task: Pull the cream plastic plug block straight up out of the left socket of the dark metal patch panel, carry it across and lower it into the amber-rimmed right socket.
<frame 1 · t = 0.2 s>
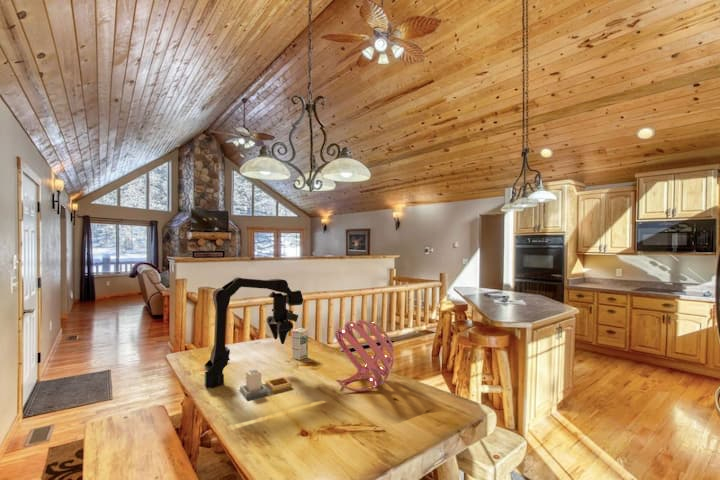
hand: (279, 341, 155), 14 cm above the table, fingers open, 9 cm apart
slotted curved sculpture: (364, 385, 142), on the table
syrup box: (299, 358, 178), on the table
panel: (266, 392, 135), on the table
plug: (253, 392, 132), point 1 cm above the table, touching panel
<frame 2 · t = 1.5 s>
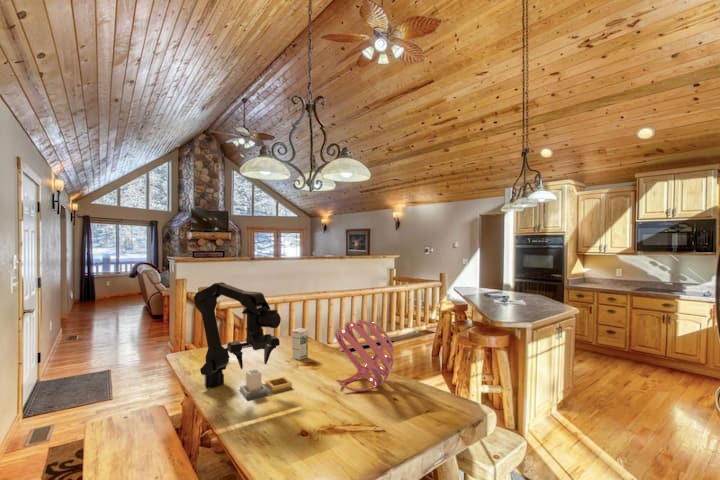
hand: (253, 366, 133), 11 cm above the table, fingers open, 9 cm apart
nothing on the table moved.
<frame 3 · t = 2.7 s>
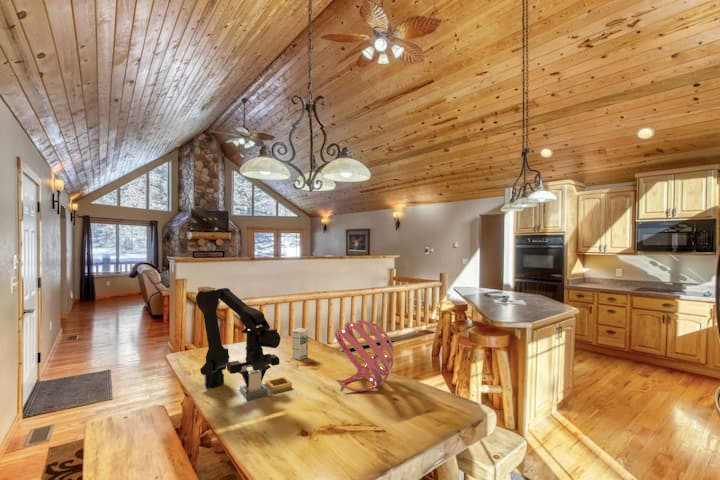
hand: (253, 385, 132), 4 cm above the table, fingers closed on plug, 4 cm apart
plug: (253, 392, 132), point 1 cm above the table, touching gripper, panel
everything else where it was.
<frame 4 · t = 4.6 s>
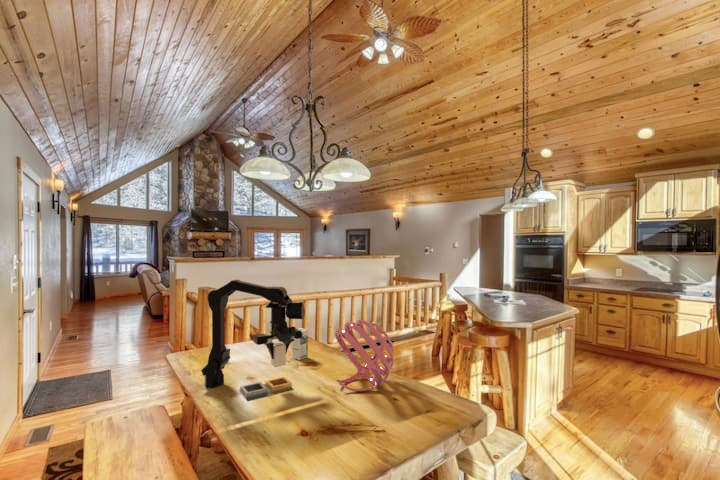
hand: (278, 357, 138), 13 cm above the table, fingers closed on plug, 4 cm apart
plug: (278, 364, 138), point 10 cm above the table, touching gripper
everything else where it was.
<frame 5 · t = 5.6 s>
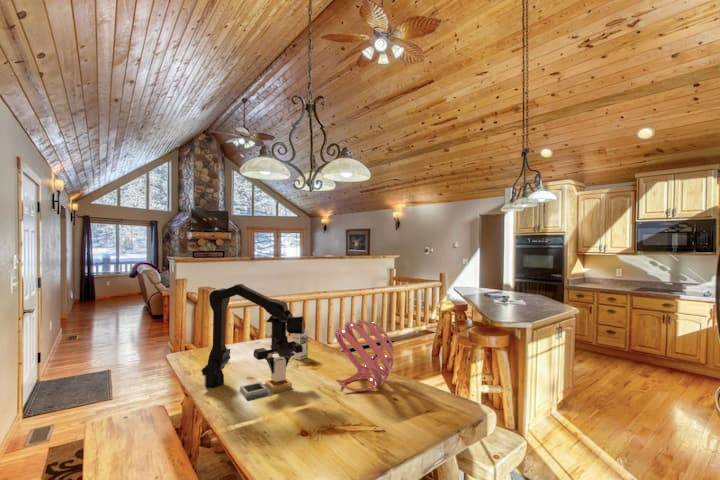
hand: (278, 372, 138), 7 cm above the table, fingers closed on plug, 4 cm apart
plug: (278, 378, 138), point 4 cm above the table, touching gripper
everything else where it was.
when the fingers open (4 cm above the table, at t = 6.4 s): plug stays where it is, resting on panel.
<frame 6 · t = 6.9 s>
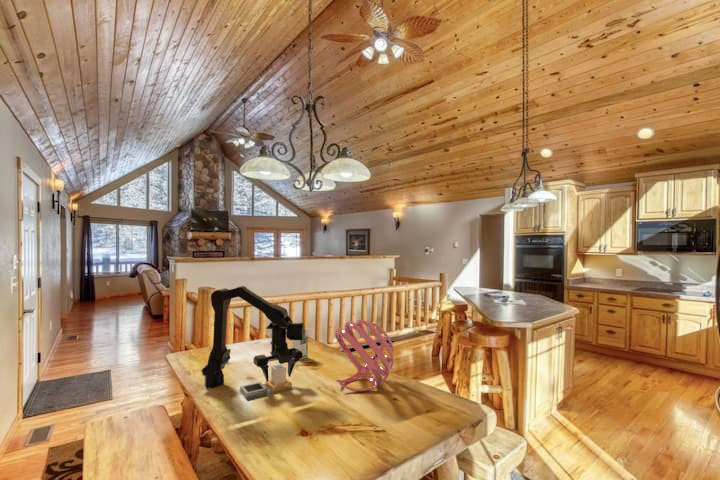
hand: (278, 378, 138), 4 cm above the table, fingers open, 9 cm apart
plug: (278, 386, 138), point 1 cm above the table, touching panel
everything else where it was.
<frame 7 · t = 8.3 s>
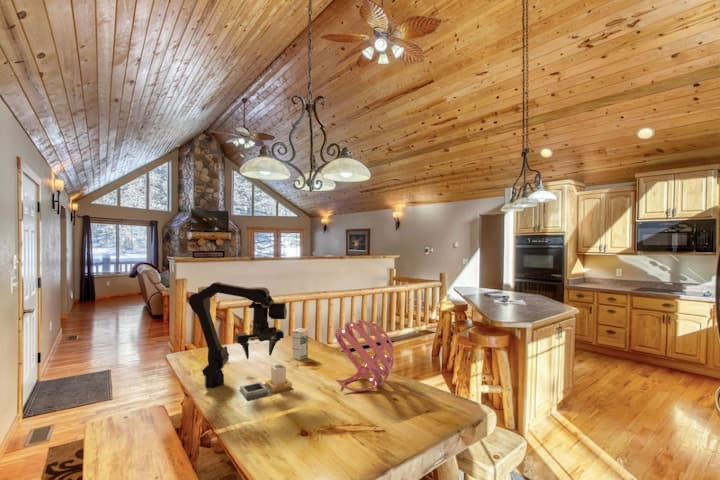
hand: (258, 357, 141), 12 cm above the table, fingers open, 9 cm apart
nothing on the table moved.
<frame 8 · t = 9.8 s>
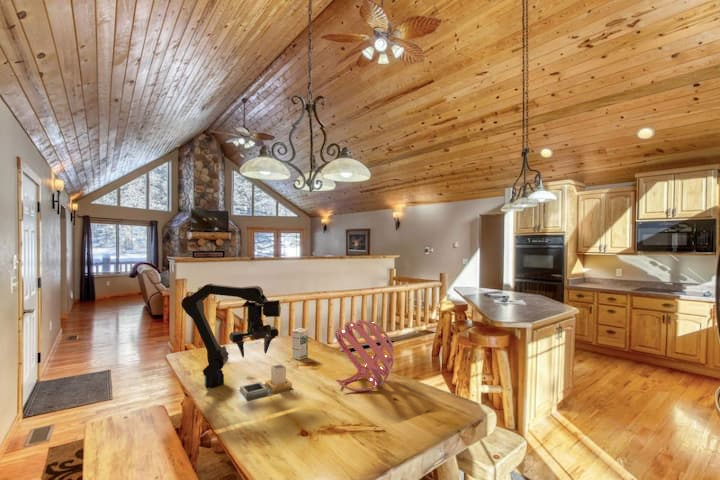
hand: (254, 355, 142), 13 cm above the table, fingers open, 9 cm apart
nothing on the table moved.
at the end: plug 0.0 cm from the target spot on the panel, point 1.0 cm above the panel's base; plug tilted 0°; the gripper is holding nothing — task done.
